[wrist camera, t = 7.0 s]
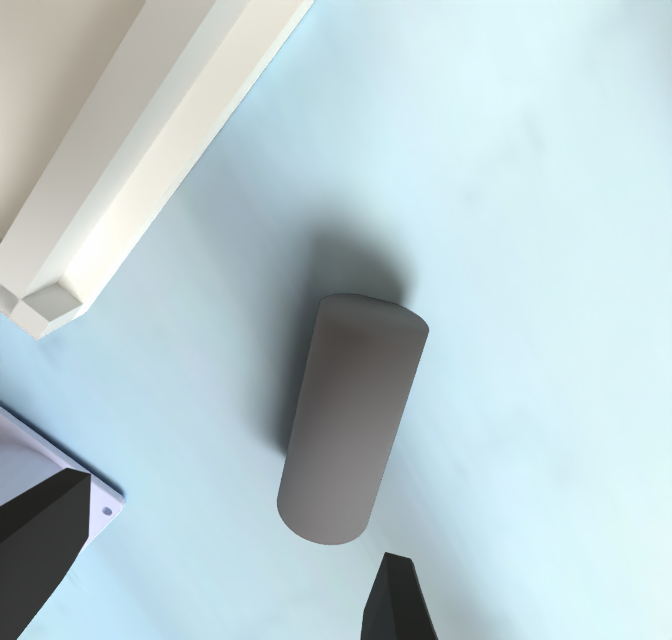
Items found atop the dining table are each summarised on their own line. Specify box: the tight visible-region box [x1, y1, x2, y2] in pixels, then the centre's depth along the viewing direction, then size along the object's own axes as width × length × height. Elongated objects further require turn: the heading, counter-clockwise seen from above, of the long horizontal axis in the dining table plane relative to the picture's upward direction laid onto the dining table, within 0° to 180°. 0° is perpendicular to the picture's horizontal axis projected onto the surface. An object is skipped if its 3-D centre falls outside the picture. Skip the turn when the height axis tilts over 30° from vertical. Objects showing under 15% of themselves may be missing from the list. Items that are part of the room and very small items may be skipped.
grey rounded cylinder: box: [277, 294, 429, 545], centre depth 19 cm, size 9×4×4 cm
